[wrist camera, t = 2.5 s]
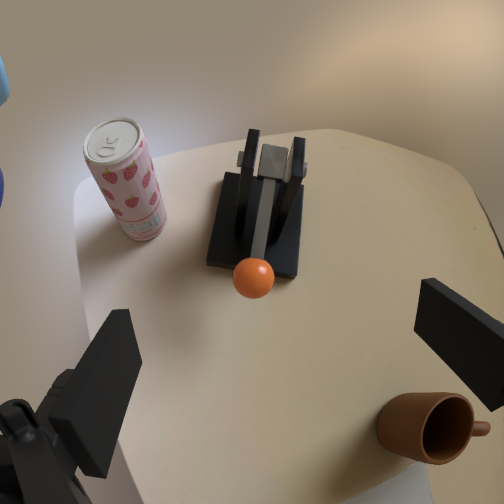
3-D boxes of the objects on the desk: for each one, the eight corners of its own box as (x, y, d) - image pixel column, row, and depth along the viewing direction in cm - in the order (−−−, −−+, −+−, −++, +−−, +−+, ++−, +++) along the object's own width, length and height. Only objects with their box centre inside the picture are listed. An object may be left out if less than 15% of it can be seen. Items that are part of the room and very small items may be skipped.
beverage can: (127, 247, 36) (81, 174, 22) (119, 208, 38) (80, 126, 24) (172, 234, 37) (148, 153, 23) (161, 195, 39) (139, 107, 25)
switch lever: (268, 297, 30) (272, 305, 26) (230, 291, 30) (228, 298, 26) (291, 157, 29) (297, 147, 25) (253, 151, 29) (255, 139, 25)
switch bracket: (294, 279, 36) (332, 225, 23) (206, 265, 36) (199, 202, 23) (301, 191, 41) (332, 116, 28) (225, 178, 40) (228, 97, 28)
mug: (455, 397, 32) (504, 395, 23) (442, 452, 29) (490, 461, 20) (382, 388, 32) (429, 388, 23) (367, 450, 29) (409, 467, 20)
